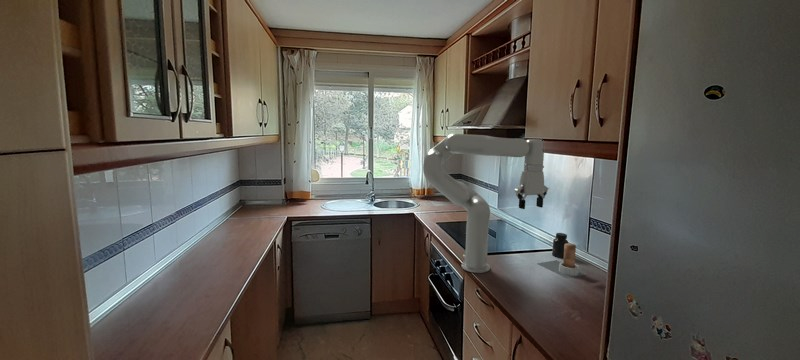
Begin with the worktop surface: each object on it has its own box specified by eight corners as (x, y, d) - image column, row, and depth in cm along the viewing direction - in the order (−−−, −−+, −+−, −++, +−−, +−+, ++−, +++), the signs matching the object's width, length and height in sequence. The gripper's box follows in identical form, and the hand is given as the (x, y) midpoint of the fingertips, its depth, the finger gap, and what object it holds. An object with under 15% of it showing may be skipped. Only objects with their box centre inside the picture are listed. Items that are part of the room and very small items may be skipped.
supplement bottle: (549, 257, 171) (550, 233, 170) (556, 254, 175) (558, 231, 174) (562, 261, 166) (564, 237, 164) (569, 258, 170) (571, 234, 168)
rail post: (560, 270, 152) (562, 244, 151) (567, 269, 154) (569, 243, 152) (568, 274, 148) (570, 247, 147) (576, 272, 150) (578, 245, 148)
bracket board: (536, 265, 160) (537, 257, 160) (556, 262, 165) (556, 254, 164) (566, 280, 145) (567, 271, 144) (587, 276, 149) (588, 267, 149)
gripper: (542, 166, 155) (539, 204, 158) (511, 168, 149) (508, 207, 151) (555, 168, 148) (552, 208, 151) (523, 170, 142) (520, 211, 144)
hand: (530, 207), depth 151 cm, fingers open, 9 cm apart
